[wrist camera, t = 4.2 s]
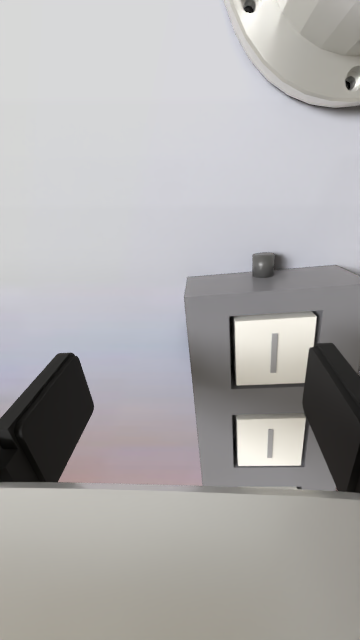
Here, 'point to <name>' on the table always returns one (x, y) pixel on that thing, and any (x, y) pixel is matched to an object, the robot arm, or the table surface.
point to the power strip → (229, 399)
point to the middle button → (269, 439)
